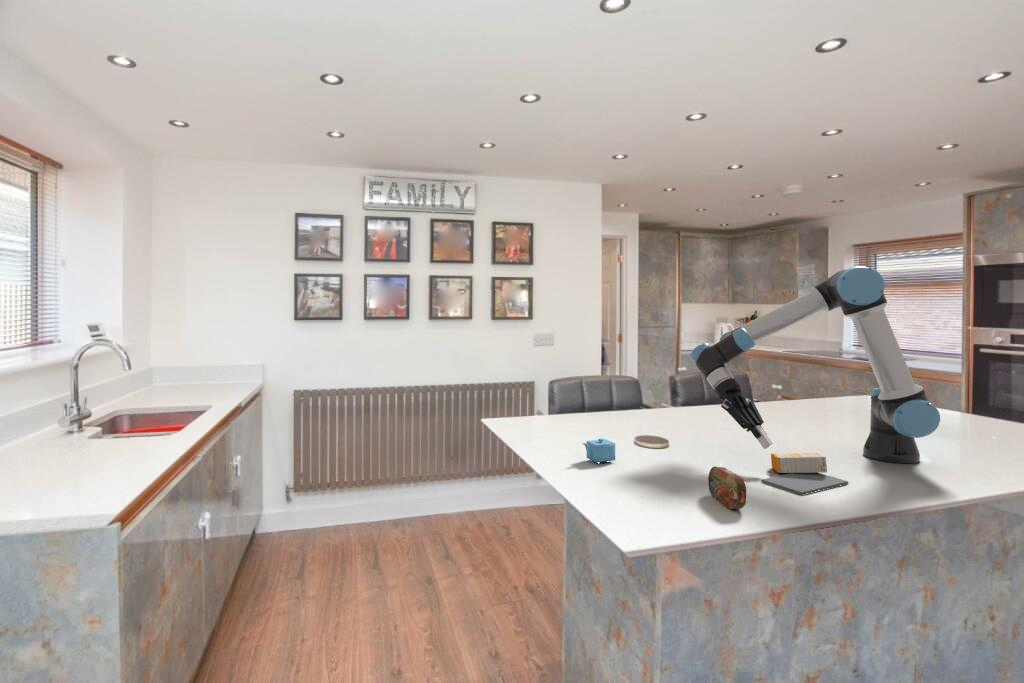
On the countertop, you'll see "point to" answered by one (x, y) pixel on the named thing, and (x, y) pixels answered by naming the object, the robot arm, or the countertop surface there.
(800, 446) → the countertop surface
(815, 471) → the supplement box
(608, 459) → the teapot
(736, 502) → the multicoloured flat oval slab
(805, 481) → the mat
